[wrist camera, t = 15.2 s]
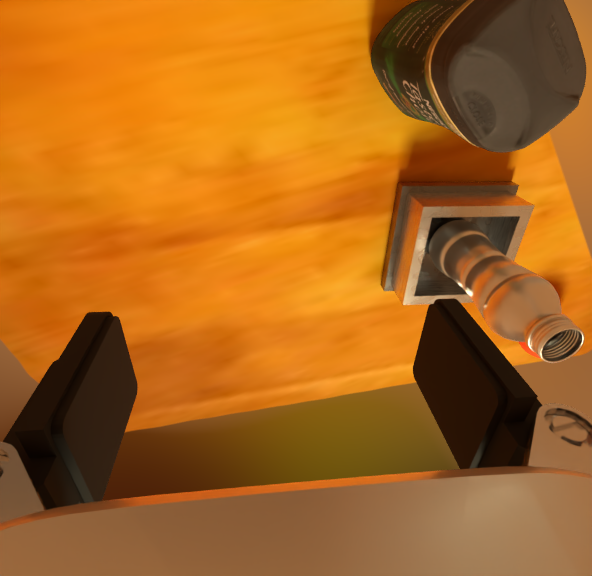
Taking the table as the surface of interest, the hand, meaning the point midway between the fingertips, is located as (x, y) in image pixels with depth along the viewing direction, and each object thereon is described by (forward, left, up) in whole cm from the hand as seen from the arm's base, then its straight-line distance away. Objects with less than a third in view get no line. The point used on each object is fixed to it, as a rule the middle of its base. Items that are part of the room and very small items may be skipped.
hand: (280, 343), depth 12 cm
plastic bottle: (+12, +23, -32) cm, 41 cm away
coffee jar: (-7, +16, -34) cm, 38 cm away
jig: (+12, +23, -33) cm, 42 cm away
